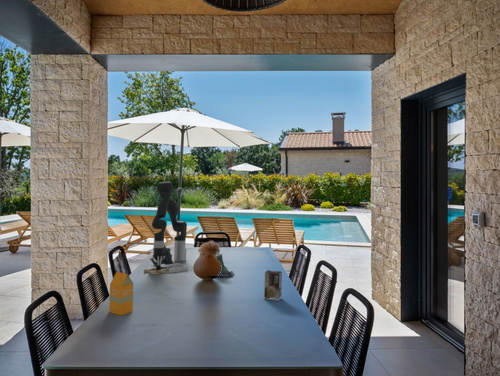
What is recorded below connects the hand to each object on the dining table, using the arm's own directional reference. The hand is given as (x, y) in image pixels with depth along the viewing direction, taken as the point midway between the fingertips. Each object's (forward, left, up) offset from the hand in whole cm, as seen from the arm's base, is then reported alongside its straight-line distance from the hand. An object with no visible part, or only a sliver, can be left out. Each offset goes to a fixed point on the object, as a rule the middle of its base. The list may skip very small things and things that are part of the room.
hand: (158, 270), depth 276 cm
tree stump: (-34, +32, -2) cm, 47 cm away
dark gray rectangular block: (-4, 0, -2) cm, 4 cm away
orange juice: (+53, +64, -2) cm, 83 cm away
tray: (-13, 0, -2) cm, 13 cm away
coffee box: (-26, +94, -2) cm, 98 cm away
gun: (-13, -17, -2) cm, 21 cm away
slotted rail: (+2, 0, -2) cm, 2 cm away
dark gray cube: (-8, 0, -2) cm, 8 cm away
